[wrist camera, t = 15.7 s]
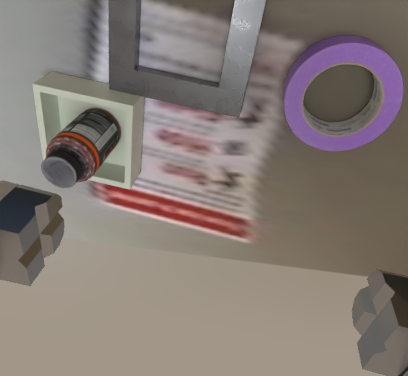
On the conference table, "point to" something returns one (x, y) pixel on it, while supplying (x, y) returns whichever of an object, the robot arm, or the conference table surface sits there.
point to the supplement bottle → (80, 148)
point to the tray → (93, 99)
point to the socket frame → (178, 84)
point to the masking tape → (367, 118)
